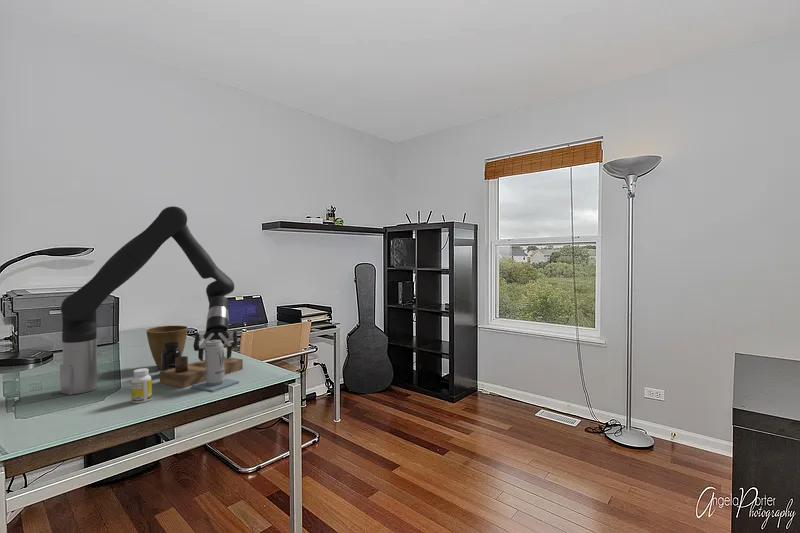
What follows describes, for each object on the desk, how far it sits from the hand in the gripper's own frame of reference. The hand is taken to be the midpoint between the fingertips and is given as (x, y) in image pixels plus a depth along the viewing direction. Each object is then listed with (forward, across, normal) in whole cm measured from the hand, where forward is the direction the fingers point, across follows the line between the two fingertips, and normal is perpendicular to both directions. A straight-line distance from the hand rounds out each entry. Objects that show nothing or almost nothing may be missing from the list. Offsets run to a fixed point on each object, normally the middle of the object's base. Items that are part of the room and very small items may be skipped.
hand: (214, 358), depth 143 cm
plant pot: (-17, -21, +31) cm, 41 cm away
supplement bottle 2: (-8, -18, +22) cm, 30 cm away
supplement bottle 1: (+13, -20, +2) cm, 24 cm away
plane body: (-4, -6, +18) cm, 19 cm away
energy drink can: (+5, 0, +8) cm, 9 cm away
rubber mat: (+6, 0, +8) cm, 10 cm away
